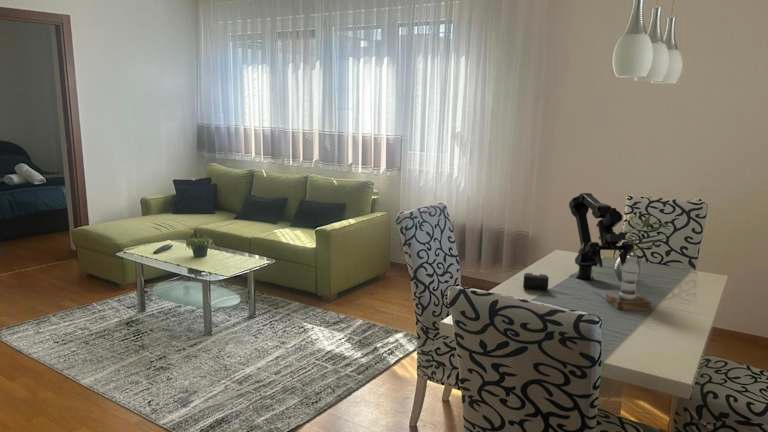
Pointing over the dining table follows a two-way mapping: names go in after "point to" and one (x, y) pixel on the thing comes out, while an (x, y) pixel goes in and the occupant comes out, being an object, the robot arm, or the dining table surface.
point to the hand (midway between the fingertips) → (612, 267)
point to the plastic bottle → (629, 279)
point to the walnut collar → (629, 303)
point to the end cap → (535, 282)
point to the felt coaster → (604, 292)
